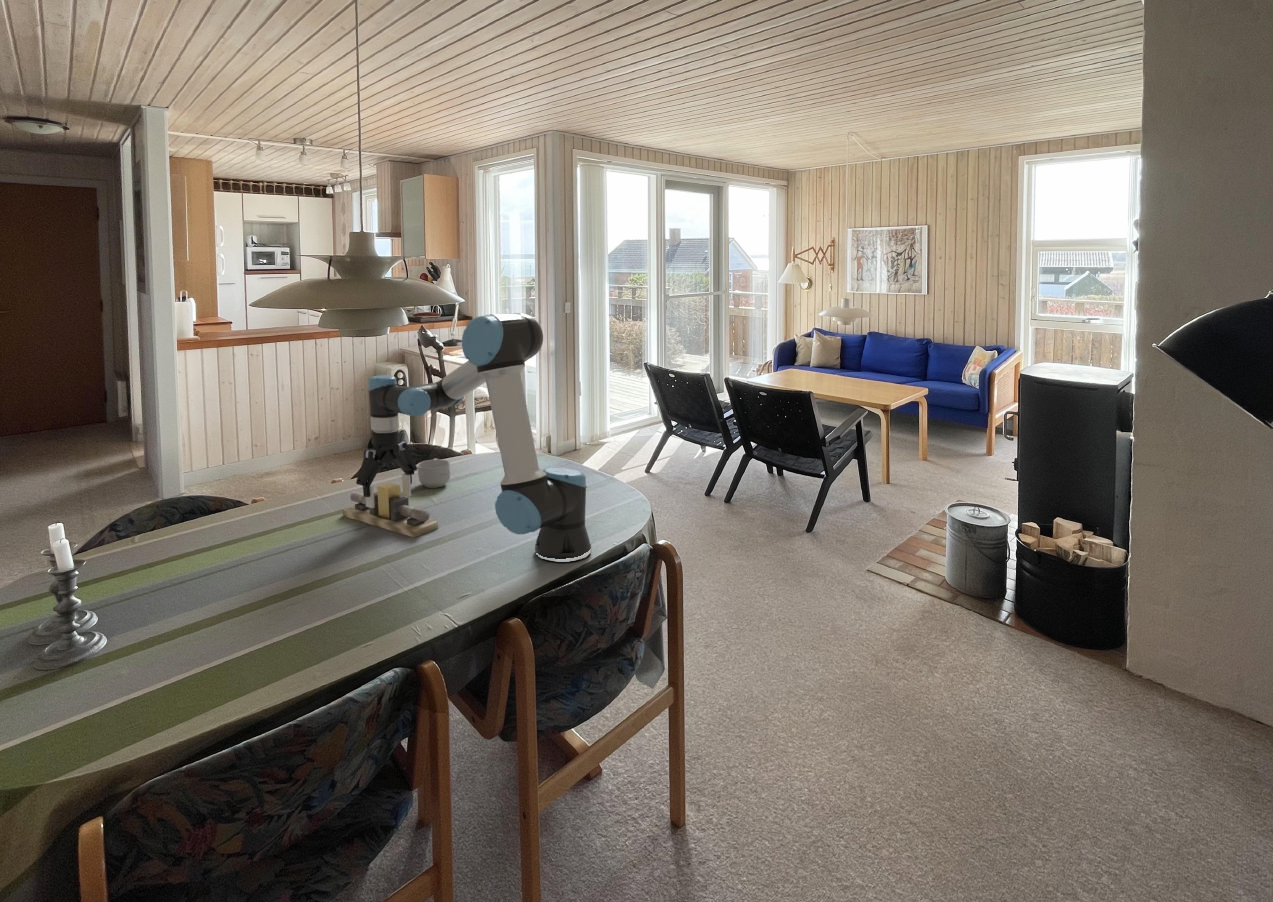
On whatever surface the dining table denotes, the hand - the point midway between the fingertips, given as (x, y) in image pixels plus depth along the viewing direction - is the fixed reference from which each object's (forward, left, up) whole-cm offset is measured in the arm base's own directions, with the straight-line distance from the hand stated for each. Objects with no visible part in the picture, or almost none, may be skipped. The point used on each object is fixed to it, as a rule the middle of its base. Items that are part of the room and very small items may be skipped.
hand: (389, 501), depth 220 cm
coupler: (0, 0, -4) cm, 4 cm away
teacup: (+17, -35, -7) cm, 40 cm away
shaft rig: (0, 0, -7) cm, 7 cm away
